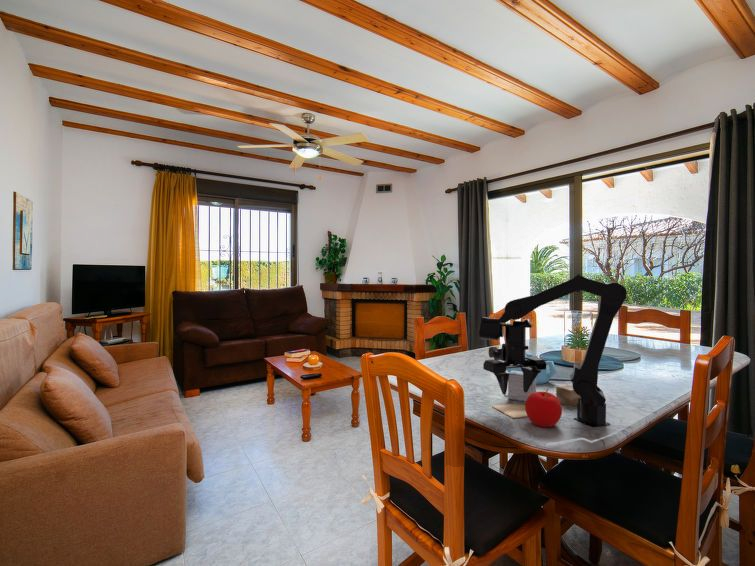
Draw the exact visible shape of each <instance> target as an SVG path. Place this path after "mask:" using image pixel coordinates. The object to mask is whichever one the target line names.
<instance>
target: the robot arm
mask: <svg viewBox="0 0 755 566" xmlns="http://www.w3.org/2000/svg"><path fill="white" fill-rule="evenodd" d="M578 291H582V292H586V293H588V294H591V295H594V296H595V295H596V296H598V299H597V300H598V301H597V314H596V318H595V320H594V323H593V327H592V330H591V333H590V336H589V339H588V342H587V346H586V349H585V352H584V356H583V359H582V361H581V362H580V364H579V365H578V364H577V363H573V368H572V370H573V371H572V373H571V374H570V375H569V377H570V378H569V379H570V382H571V383H572V384H571V386H573V390H574V391H575V393H576V394H577V395H579V396H580V397H581V398H578V403H577V405H576V412H577V413H576V417H573V420H575V421H577V422H579V423H580V424H583V425H586V426H588V427H590V428H592V429H593V428H594V429H595V428H600V427H601V428H602V427H608V426H611V423H609V422H607V403H606V402H607V399H606V397H605V394H604V392H603V390H602V389H601V388H600V387H599V386H598V380H599V376H598V375H599V365H600V363H601V359H602V355H603V352H604V350H605V346H606V342H607V340H608V337H609V334H610V330H611V327H612V324H613V321H614V318H615V317H616V315H617V314H618V312H619V311H620V309H621V308H622V306H623V304H624V303H625V301H626V299H627V297H628V291H627V289H626V287H625V286H624V285H623V284H620V283H618V282H607V283H604V282H601V281H596V280H593V279H590V278H588V277H587V278H586V277H585V276H583V275H575V276H574V277H572V278H571V279H568V280H566V281H564V282H561V283H559V284H557V285H554V286H552V287H549V288H547V289H545V290H543V291H541V292H538V293H536V294H533V295H529V296H524V297H519V298H517V299H516V298H515V299H512V300H510V301H509V302H506V304H505V307H504V312H503V313H502V315H500V316H499V318H494V317H493V318H492V317H486V316H483V317H481V319H480V324H479V329H478V334H479V335H478V336H479V339H481V340H489V341H491V340H492V341H500V340H501V338H504V336H505V339H504V340H505V343H502V344H501V348H498V347H497V346H490V347H488V356H489V359H485V361H483V370H485V371H488V372H489V373H491V374H493V375H494V377H495V378H496V380H497V382H498V384H499V385H498V386H499V388H500V390H501V394H502V395H503V396H504V395H507V392H508V378H509V372H507V370H508V369H507V368H519V367H521V370H522V372H523V390H524V392H526V393H527V392H528V390H529V388H530V386H531V384H532V383H533V381H534V379H535V378H536V376H537V375H538V373H541V370H544V369H546V368H547V365H546V362H545V359H543V358H539V357H538V358H537V357H525V356H526V351H528V350H529V345H527V343H526V339H527V338H526V337H527V336H526V329H527V328H529V329H531V328H533V324H532V323H531V322H530V321H529V319H528V318H525V320H523V321H522V320H520V319H522V318H523V317H525V316H526V315H528V314H529V313H531V312H533V311H535V310H536V309H537V308H539V307H541V306H543V305H546V304H548V303H551V302H554V301H556V300H558V299H560V298H563V297H565V296H568V295H570V294H572V293H575V292H578ZM511 320H513V321H512V323H508V322H509V321H511ZM504 332H505V333H504ZM504 361H505V362H504ZM517 364H520V365H517Z"/></svg>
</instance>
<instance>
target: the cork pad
mask: <svg viewBox="0 0 755 566" xmlns="http://www.w3.org/2000/svg"><path fill="white" fill-rule="evenodd" d="M492 408H493V409H495V410H497V411H499V412H500V413H502V414H505V415H506V416H507V417H509V418H511V419H513V420H515V419H523V418H528V416H527V413H526V410H525V405H522V404H520V403H518V402H515V403H507V404H498V405H492Z"/></svg>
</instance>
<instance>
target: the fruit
mask: <svg viewBox="0 0 755 566" xmlns="http://www.w3.org/2000/svg"><path fill="white" fill-rule="evenodd" d="M548 391H549V388H548V387H547V388H546V391H536V392H535V393H532V394H531V395H529V397H528V398H527V400H526V403H525V410H526V413H527V416H528V417H527V418H528V419H529V421H530V422H531V423H532V424H534V425H535V426H538V427H540V428H548V427H549V428H551V427H554V426H556V424H557V423H558V422H559V421H560V420H561V418H562V414H563V408H562V403H560V402H559V400H558V399H557V397H556V394H553V393H550V392H548Z"/></svg>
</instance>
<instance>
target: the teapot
mask: <svg viewBox="0 0 755 566" xmlns="http://www.w3.org/2000/svg"><path fill="white" fill-rule="evenodd" d="M525 357H537V358H539V357H538V355H534V354H533V353H529V352H528V353H525ZM503 362H505V361H503ZM545 362H546V366H548V368H549V372H548V369H547V367H546V369H544V370H541V373H538V375H537V376H536V385H541V384H546V383H548V382H549V380H550V379H551V378H552V377H554V376H555V375H557V374H558V372H557V369H556V366H555V363H554V360H546V361H545ZM517 365H520V364H517ZM506 370H507V373H509V372H510V371H512V370H513V371H520V372H522V370H521V367H519V368H507V369H506Z"/></svg>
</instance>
